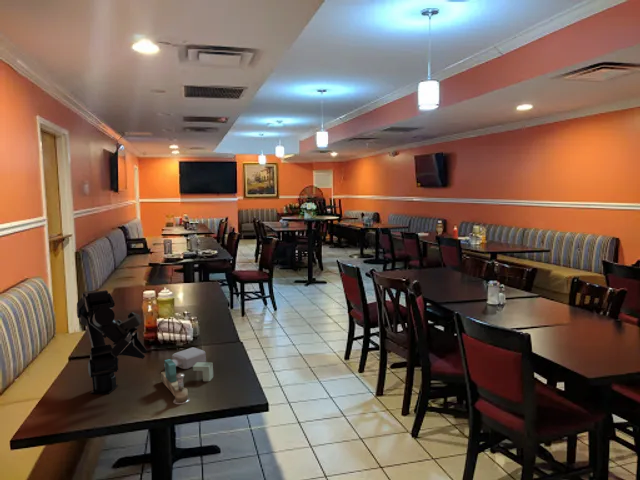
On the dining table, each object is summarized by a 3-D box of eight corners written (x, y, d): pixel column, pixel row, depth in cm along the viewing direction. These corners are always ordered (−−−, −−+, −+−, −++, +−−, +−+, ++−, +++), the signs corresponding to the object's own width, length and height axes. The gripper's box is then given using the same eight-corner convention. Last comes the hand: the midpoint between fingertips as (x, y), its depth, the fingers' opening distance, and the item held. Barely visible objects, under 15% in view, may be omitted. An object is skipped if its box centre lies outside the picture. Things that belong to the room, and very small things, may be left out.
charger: (158, 369, 178) (192, 357, 189) (172, 375, 172) (206, 362, 184) (158, 357, 177) (191, 346, 189) (171, 363, 172) (205, 351, 183)
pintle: (170, 404, 149) (168, 378, 148) (177, 396, 154) (175, 371, 153) (186, 404, 148) (184, 378, 147) (192, 397, 154) (191, 371, 152)
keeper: (193, 380, 166) (192, 366, 166) (197, 376, 170) (197, 362, 170) (209, 381, 166) (208, 366, 165) (213, 376, 170) (212, 362, 169)
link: (189, 399, 151) (188, 373, 150) (177, 403, 148) (175, 376, 147) (170, 378, 168) (169, 354, 167) (159, 381, 166) (157, 356, 165)
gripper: (118, 315, 146) (158, 346, 149) (130, 300, 164) (165, 328, 167) (93, 341, 145) (133, 372, 149) (107, 324, 163) (143, 352, 167)
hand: (145, 354), depth 158 cm, fingers open, 5 cm apart
